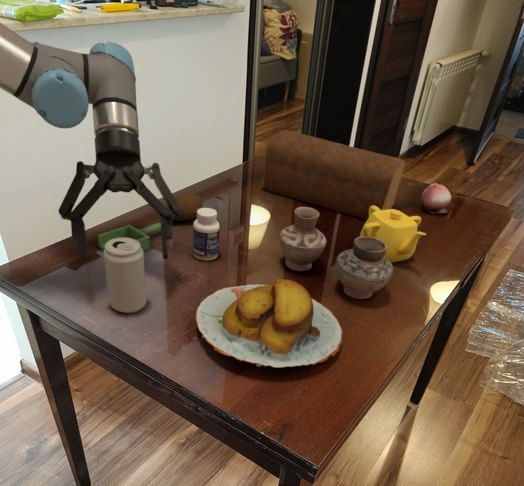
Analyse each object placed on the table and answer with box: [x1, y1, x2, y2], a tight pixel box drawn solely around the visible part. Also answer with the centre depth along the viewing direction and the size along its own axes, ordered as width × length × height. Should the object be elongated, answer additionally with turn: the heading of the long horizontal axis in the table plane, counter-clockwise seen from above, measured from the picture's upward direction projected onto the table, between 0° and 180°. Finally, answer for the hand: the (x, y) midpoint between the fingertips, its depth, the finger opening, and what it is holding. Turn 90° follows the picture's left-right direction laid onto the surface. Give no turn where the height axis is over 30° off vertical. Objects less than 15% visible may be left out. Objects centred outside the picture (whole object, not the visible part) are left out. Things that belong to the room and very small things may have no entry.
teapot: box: [359, 206, 427, 263], centre depth 108 cm, size 14×13×10 cm
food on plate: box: [194, 278, 344, 368], centre depth 83 cm, size 25×25×7 cm
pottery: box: [278, 206, 395, 300], centre depth 97 cm, size 11×25×12 cm, turn 54°
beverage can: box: [103, 237, 147, 314], centre depth 83 cm, size 6×6×12 cm
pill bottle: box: [192, 207, 221, 262], centre depth 100 cm, size 5×5×10 cm
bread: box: [262, 129, 406, 221], centre depth 127 cm, size 14×34×14 cm, turn 64°
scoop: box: [96, 221, 161, 252], centre depth 103 cm, size 16×7×3 cm, turn 139°
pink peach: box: [420, 182, 452, 215], centre depth 131 cm, size 8×8×7 cm
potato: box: [166, 192, 204, 222], centre depth 112 cm, size 7×10×6 cm
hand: (125, 258), depth 83 cm, fingers open, 13 cm apart
